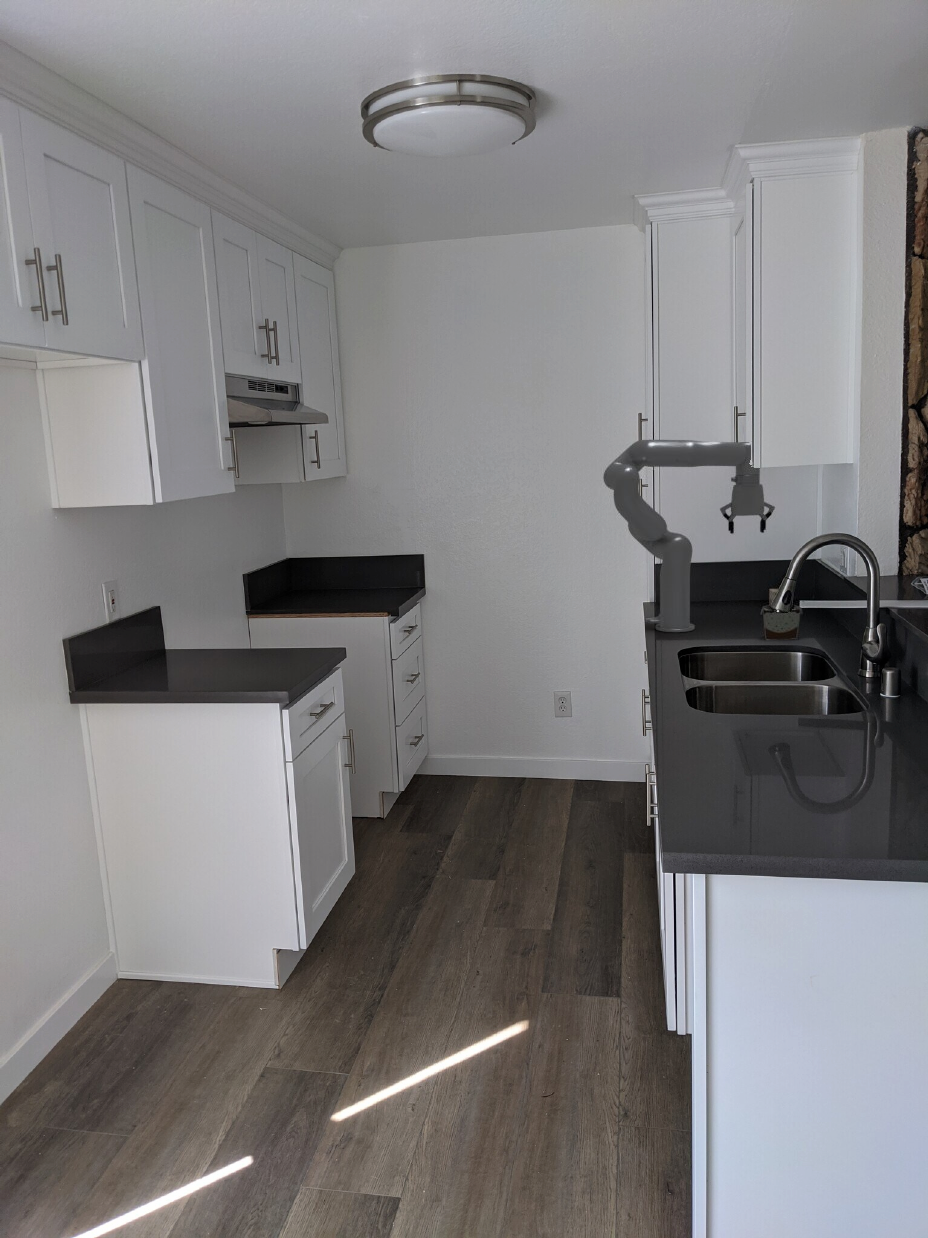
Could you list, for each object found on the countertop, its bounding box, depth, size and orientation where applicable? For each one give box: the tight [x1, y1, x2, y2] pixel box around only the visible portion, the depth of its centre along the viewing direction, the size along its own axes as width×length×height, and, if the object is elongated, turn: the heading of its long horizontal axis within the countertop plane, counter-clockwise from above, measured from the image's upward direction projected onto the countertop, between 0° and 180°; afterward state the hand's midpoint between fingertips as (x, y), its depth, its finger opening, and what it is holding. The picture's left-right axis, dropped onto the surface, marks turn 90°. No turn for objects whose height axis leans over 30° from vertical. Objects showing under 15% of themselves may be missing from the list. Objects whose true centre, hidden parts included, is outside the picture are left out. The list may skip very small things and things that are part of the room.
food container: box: [760, 604, 803, 640], centre depth 288 cm, size 12×6×10 cm, turn 85°
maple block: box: [768, 588, 779, 606], centre depth 286 cm, size 5×5×5 cm
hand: (746, 532), depth 307 cm, fingers open, 9 cm apart
